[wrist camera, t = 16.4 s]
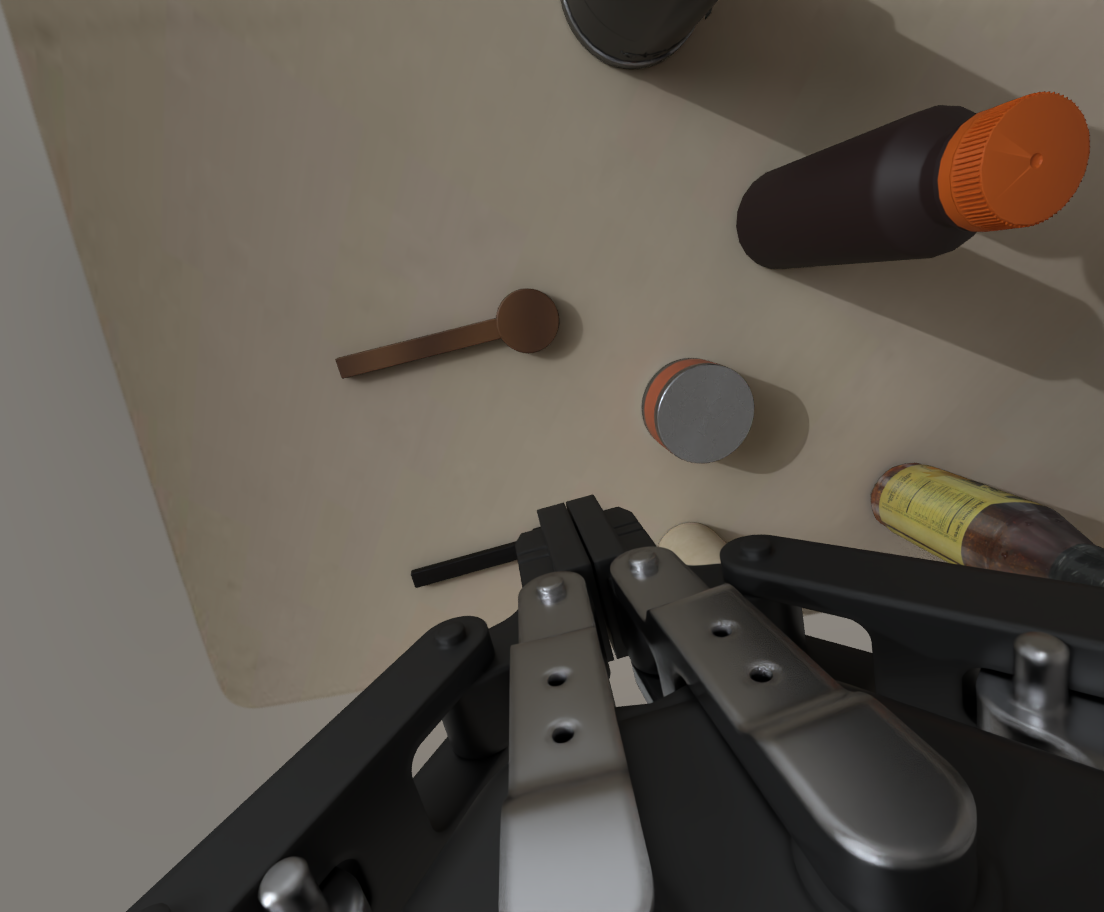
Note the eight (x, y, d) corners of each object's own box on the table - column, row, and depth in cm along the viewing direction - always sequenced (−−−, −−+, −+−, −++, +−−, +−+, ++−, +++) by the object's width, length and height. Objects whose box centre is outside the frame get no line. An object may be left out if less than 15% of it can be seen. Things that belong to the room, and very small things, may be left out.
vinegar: (736, 276, 43) (953, 263, 24) (730, 176, 41) (961, 74, 22) (823, 261, 43) (1103, 238, 24) (821, 162, 41) (1124, 51, 22)
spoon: (351, 397, 41) (348, 400, 40) (330, 336, 40) (326, 337, 39) (563, 343, 42) (565, 344, 41) (549, 282, 41) (551, 281, 40)
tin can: (631, 373, 44) (646, 381, 40) (721, 345, 44) (745, 350, 40) (652, 461, 46) (669, 476, 42) (738, 433, 46) (762, 446, 42)
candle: (687, 593, 49) (738, 665, 40) (642, 557, 48) (685, 623, 38) (732, 547, 49) (795, 609, 39) (688, 508, 47) (743, 563, 38)
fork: (418, 591, 46) (417, 595, 45) (408, 562, 45) (407, 566, 45) (613, 536, 47) (615, 540, 46) (607, 507, 46) (609, 511, 46)
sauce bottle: (943, 499, 50) (1229, 624, 31) (883, 540, 51) (1129, 689, 32) (914, 441, 48) (1199, 537, 29) (851, 484, 49) (1094, 607, 30)
